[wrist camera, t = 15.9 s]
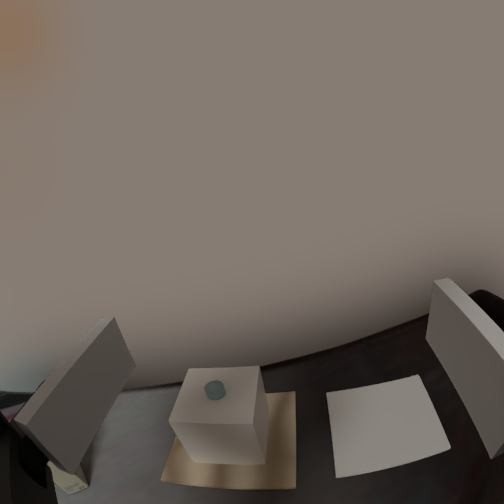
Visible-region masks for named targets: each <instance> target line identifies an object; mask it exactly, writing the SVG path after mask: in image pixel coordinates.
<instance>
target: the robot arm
mask: <svg viewBox="0 0 504 504" xmlns="http://www.w3.org/2000/svg"><path fill="white" fill-rule="evenodd" d="M426 340H427V341H428V343H429V344H430V346H431V348H432V349H433V351H434V352H435V354H436V356H437V357H438V359H439V361H440V362H441V364H442V366H443V367H444V369H445V371H446V372H447V374H448V376H449V378H450V379H451V381H452V383H453V385H454V386H455V388H456V390H457V392H458V394H459V395H460V397H461V399H462V401H463V403H464V405H465V407H466V408H467V410H468V412H469V414H470V416H471V418H472V420H473V422H474V424H475V426H476V428H477V430H478V432H479V434H480V436H481V438H482V441H483V443H484V445H485V447H486V449H487V451H488V454H489V456H490V458H491V459H493V458H494V457H496V456H498V455H500V454H502V453H504V332H503V331H502V330H501V329H500V328H499V327H498V325H497V324H496V323H495V322H494V321H493V320H492V319H491V318H490V317H489V316H488V315H487V314H486V313H485V312H484V311H483V310H482V309H481V308H480V307H479V306H478V305H477V304H476V303H475V302H474V301H473V300H472V299H471V298H470V297H469V296H468V295H467V294H466V293H465V292H464V291H462V290H461V289H460V288H459V287H458V286H457V285H456V284H455V283H454V282H453V281H452V280H451V279H450V278H445V279H440V280H435V281H433V289H432V298H431V306H430V313H429V320H428V327H427V333H426ZM135 366H136V365H135V363H134V361H133V358H132V356H131V354H130V352H129V350H128V348H127V345H126V343H125V341H124V339H123V336H122V334H121V332H120V329H119V327H118V325H117V322H116V320H115V317H102V318H100V319H99V321H98V322H97V323H96V324H95V325H94V326H93V327H92V328H91V329H90V330H89V331H88V332H87V333H86V335H85V336H84V337H83V338H82V339H81V340H80V341H79V342H78V343H77V344H76V345H75V347H74V348H73V349H72V350H71V351H70V352H69V353H68V354H67V356H66V357H65V358H64V359H63V360H62V361H61V362H60V364H59V365H58V366H57V367H56V368H55V369H54V370H53V372H52V373H51V374H50V375H49V377H47V379H46V380H44V381H43V382H42V383H41V384H40V386H39V387H38V388H37V389H36V392H34V393H33V394H32V395H31V398H29V399H28V400H27V401H26V403H25V404H24V405H23V406H22V408H21V409H20V410H19V411H18V413H17V414H16V415H15V417H14V418H13V419H12V420H11V421H10V423H9V422H8V420H7V419H6V418H5V417H4V415H3V414H2V413H1V411H0V504H58V502H57V497H56V492H55V487H54V482H53V476H52V471H51V468H50V467H49V466H48V465H47V464H48V462H49V460H50V461H51V462H52V463H53V464H54V465H55V466H56V467H57V468H58V469H59V470H62V471H64V472H66V473H69V474H71V475H74V473H75V471H76V469H77V467H78V465H79V464H80V462H81V460H82V458H83V456H84V454H85V453H86V451H87V449H88V447H89V445H90V444H91V442H92V440H93V438H94V437H95V435H96V433H97V431H98V429H99V428H100V426H101V424H102V423H103V421H104V419H105V417H106V416H107V414H108V412H109V410H110V409H111V407H112V405H113V404H114V402H115V400H116V398H117V397H118V395H119V393H120V392H121V390H122V388H123V386H124V385H125V383H126V381H127V380H128V378H129V377H130V375H131V373H132V372H133V370H134V368H135ZM501 504H504V496H503V499H502V502H501Z"/></svg>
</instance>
